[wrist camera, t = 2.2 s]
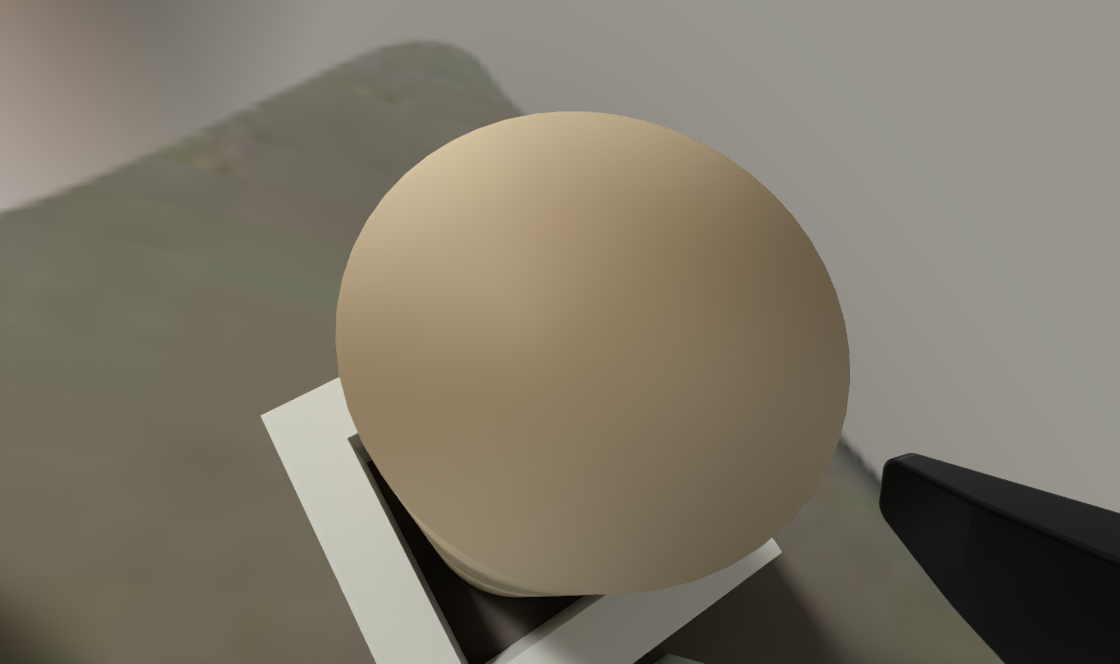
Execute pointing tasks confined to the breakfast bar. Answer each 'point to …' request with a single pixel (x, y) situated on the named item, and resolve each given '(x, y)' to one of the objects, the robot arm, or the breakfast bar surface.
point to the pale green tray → (675, 660)
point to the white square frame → (400, 587)
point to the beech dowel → (590, 356)
